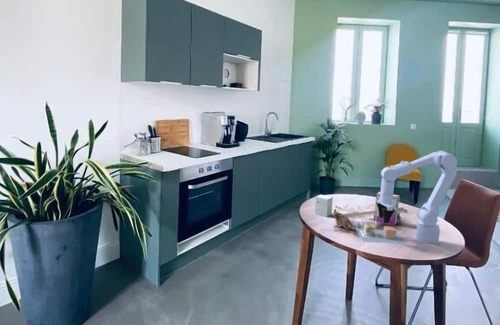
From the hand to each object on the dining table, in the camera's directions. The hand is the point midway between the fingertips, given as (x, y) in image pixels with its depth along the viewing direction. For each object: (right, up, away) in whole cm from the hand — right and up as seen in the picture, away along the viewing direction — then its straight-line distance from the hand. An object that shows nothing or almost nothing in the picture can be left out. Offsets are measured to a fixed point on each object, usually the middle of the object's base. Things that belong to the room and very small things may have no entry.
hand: (383, 220), depth 173 cm
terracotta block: (+3, -9, +2) cm, 9 cm away
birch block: (-6, -8, +4) cm, 10 cm away
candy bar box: (+9, -6, +22) cm, 25 cm away
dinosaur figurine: (-17, -7, +12) cm, 22 cm away
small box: (-23, -2, +33) cm, 40 cm away
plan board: (-1, -9, +3) cm, 10 cm away
